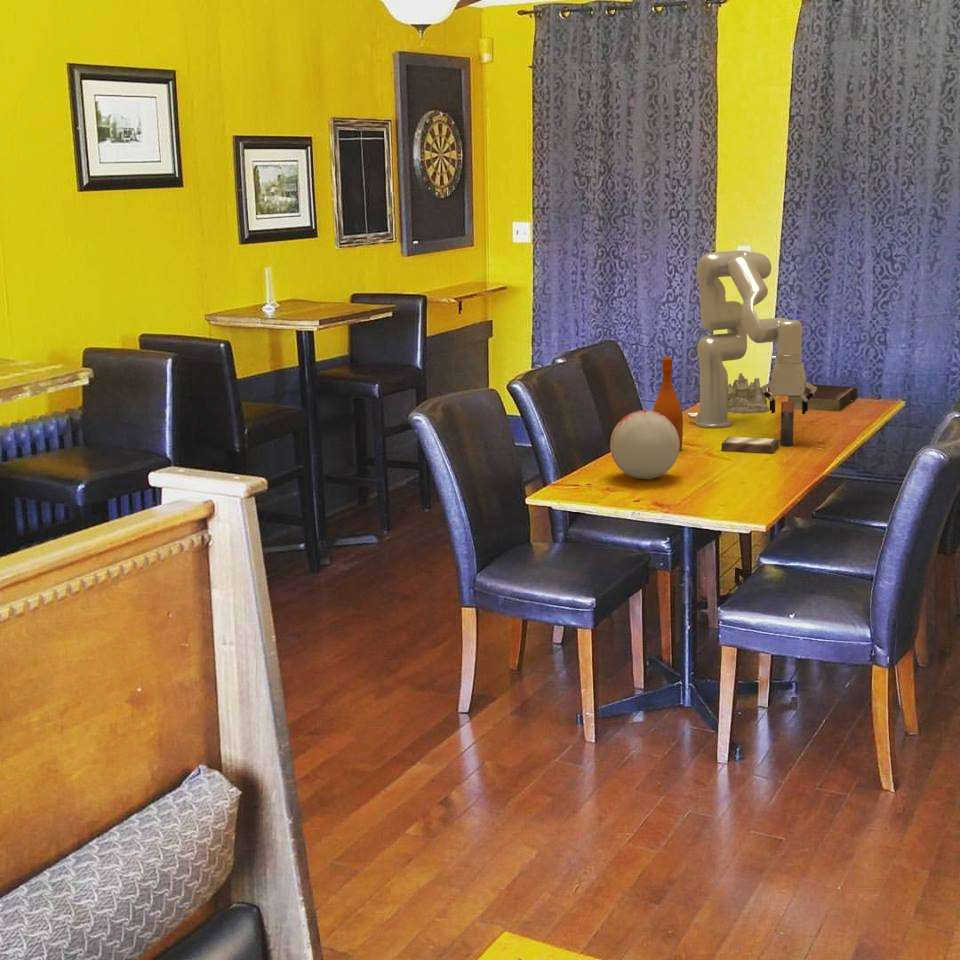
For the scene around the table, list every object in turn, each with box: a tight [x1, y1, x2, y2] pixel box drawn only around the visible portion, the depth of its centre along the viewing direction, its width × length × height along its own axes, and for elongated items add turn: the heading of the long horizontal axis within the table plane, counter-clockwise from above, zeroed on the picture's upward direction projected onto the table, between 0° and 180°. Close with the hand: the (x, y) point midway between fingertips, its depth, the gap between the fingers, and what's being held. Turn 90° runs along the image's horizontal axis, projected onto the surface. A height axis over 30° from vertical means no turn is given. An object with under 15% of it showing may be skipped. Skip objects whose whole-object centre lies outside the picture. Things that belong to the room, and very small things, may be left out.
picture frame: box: [721, 436, 779, 455], centre depth 390 cm, size 16×10×3 cm, turn 66°
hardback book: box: [787, 383, 858, 412], centre depth 462 cm, size 29×19×5 cm, turn 151°
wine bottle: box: [652, 356, 684, 451], centre depth 390 cm, size 10×10×30 cm
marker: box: [779, 400, 795, 447], centre depth 392 cm, size 4×4×14 cm
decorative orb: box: [609, 409, 681, 480], centre depth 355 cm, size 21×20×20 cm
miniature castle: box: [728, 372, 770, 415], centre depth 454 cm, size 16×16×15 cm
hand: (788, 413), depth 391 cm, fingers open, 9 cm apart
